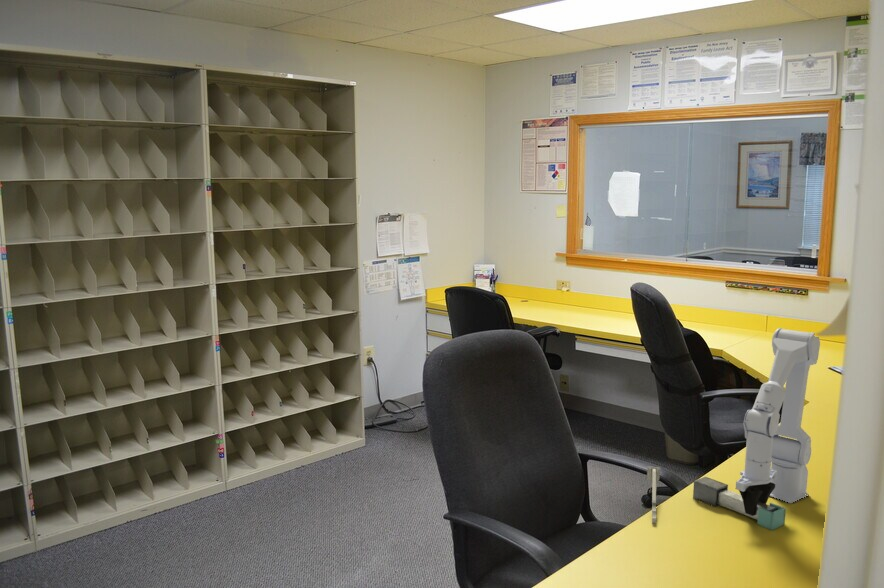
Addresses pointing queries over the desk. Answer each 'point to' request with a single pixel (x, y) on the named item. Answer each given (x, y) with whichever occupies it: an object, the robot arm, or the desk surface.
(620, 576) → the desk surface
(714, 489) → the sleeve
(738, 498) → the long grey plank
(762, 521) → the socket
